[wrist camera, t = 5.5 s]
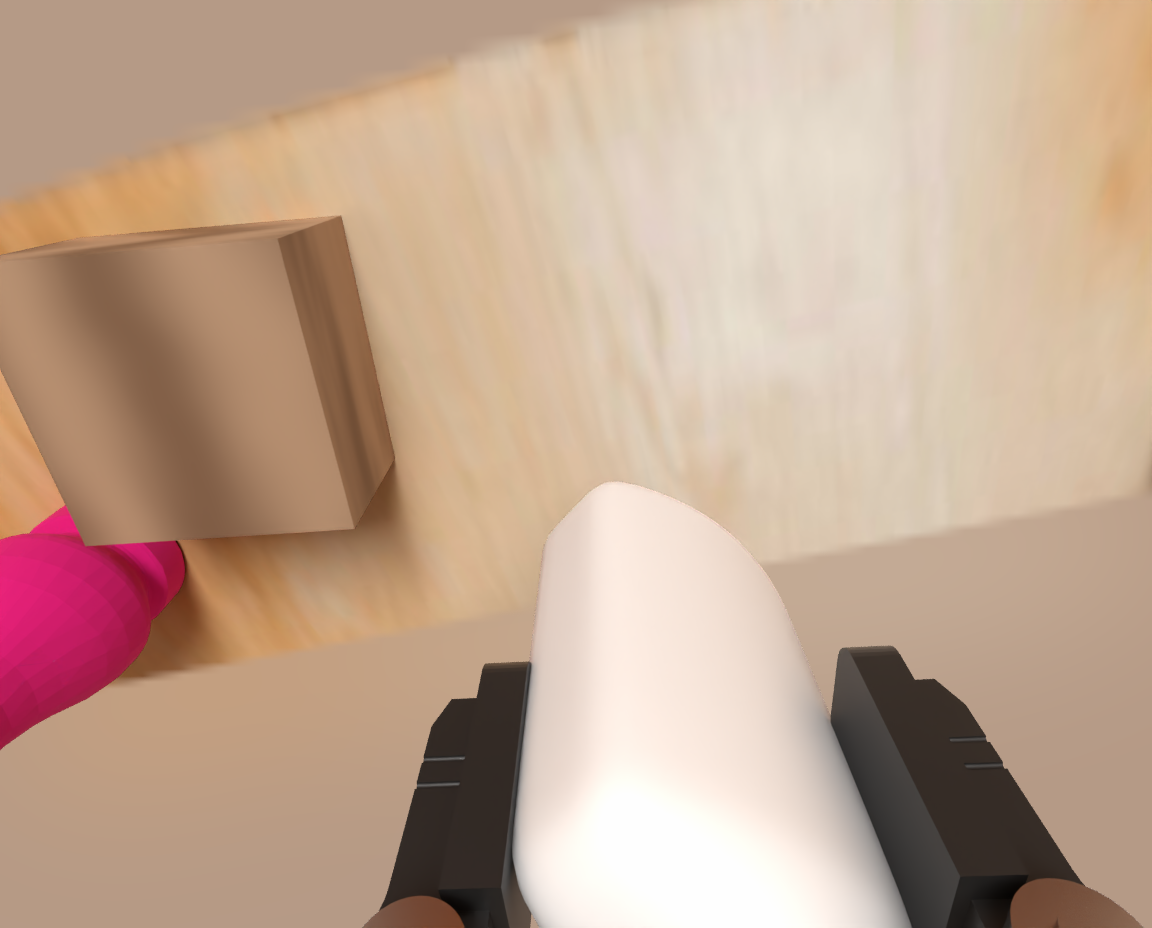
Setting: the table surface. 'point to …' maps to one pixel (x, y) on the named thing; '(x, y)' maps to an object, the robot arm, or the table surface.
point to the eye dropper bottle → (681, 740)
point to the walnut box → (197, 380)
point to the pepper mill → (73, 616)
